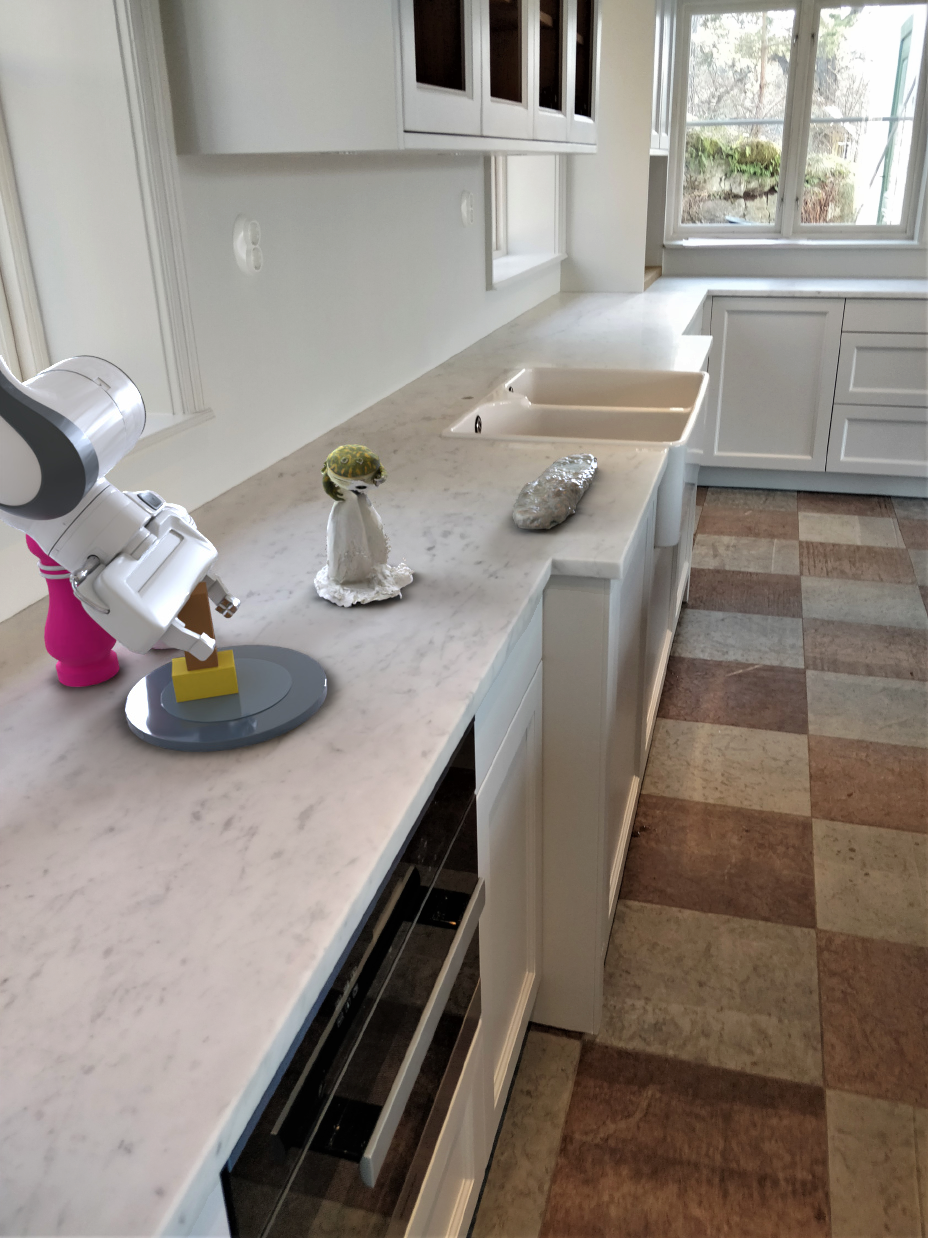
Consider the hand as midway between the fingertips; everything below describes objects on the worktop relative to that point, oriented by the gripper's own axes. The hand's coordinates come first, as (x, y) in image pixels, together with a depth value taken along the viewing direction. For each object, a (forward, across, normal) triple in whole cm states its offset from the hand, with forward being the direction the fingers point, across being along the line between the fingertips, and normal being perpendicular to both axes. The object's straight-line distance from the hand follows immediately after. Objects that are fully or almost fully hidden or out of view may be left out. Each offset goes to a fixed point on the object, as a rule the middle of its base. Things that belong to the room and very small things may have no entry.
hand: (223, 631), depth 94 cm
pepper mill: (-7, +6, +18) cm, 20 cm away
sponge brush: (+3, 0, +6) cm, 7 cm away
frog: (+13, +28, -2) cm, 31 cm away
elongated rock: (+31, +62, -21) cm, 73 cm away
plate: (+5, 0, +6) cm, 8 cm away
